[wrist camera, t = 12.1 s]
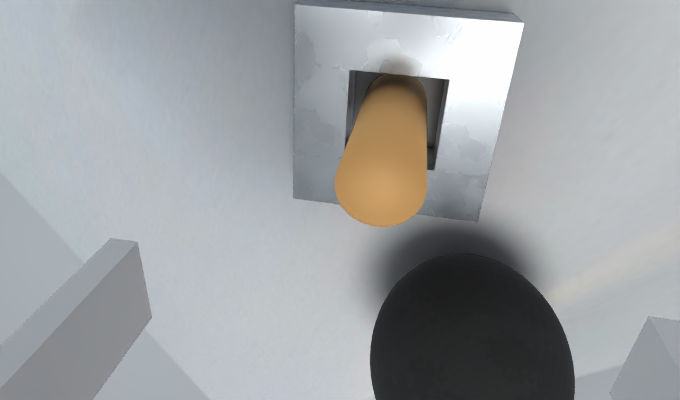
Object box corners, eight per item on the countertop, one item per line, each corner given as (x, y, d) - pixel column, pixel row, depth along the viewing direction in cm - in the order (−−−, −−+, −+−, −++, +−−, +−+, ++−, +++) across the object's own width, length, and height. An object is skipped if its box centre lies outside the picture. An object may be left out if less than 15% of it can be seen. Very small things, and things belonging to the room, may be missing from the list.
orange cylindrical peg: (367, 69, 30) (336, 139, 20) (431, 74, 30) (433, 150, 19) (362, 128, 32) (332, 220, 22) (422, 134, 32) (420, 232, 21)
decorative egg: (512, 193, 33) (569, 363, 20) (563, 322, 37) (637, 528, 24) (353, 247, 37) (314, 416, 24) (416, 357, 42) (412, 548, 29)
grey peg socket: (308, -3, 29) (294, 4, 26) (513, 13, 27) (524, 23, 24) (304, 175, 35) (293, 198, 32) (472, 195, 33) (477, 221, 30)
